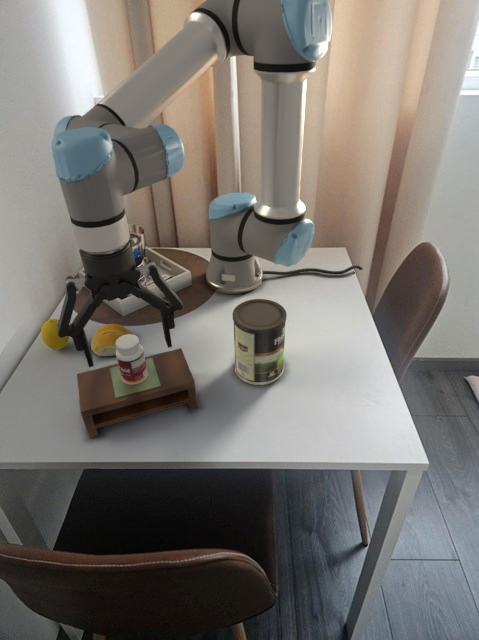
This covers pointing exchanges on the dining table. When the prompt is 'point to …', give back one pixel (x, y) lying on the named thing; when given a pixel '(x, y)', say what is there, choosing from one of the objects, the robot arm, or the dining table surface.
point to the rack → (135, 391)
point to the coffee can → (259, 341)
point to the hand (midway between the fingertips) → (130, 352)
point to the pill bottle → (131, 359)
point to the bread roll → (107, 339)
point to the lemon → (53, 335)
